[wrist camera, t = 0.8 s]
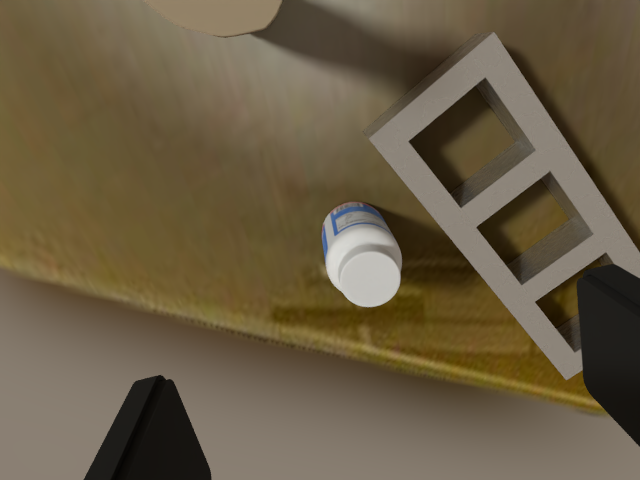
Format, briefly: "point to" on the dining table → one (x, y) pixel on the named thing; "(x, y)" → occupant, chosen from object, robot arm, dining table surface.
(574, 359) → the hollow concrete block
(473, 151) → the dining table surface
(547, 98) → the dining table surface
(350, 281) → the pill bottle
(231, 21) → the handle
